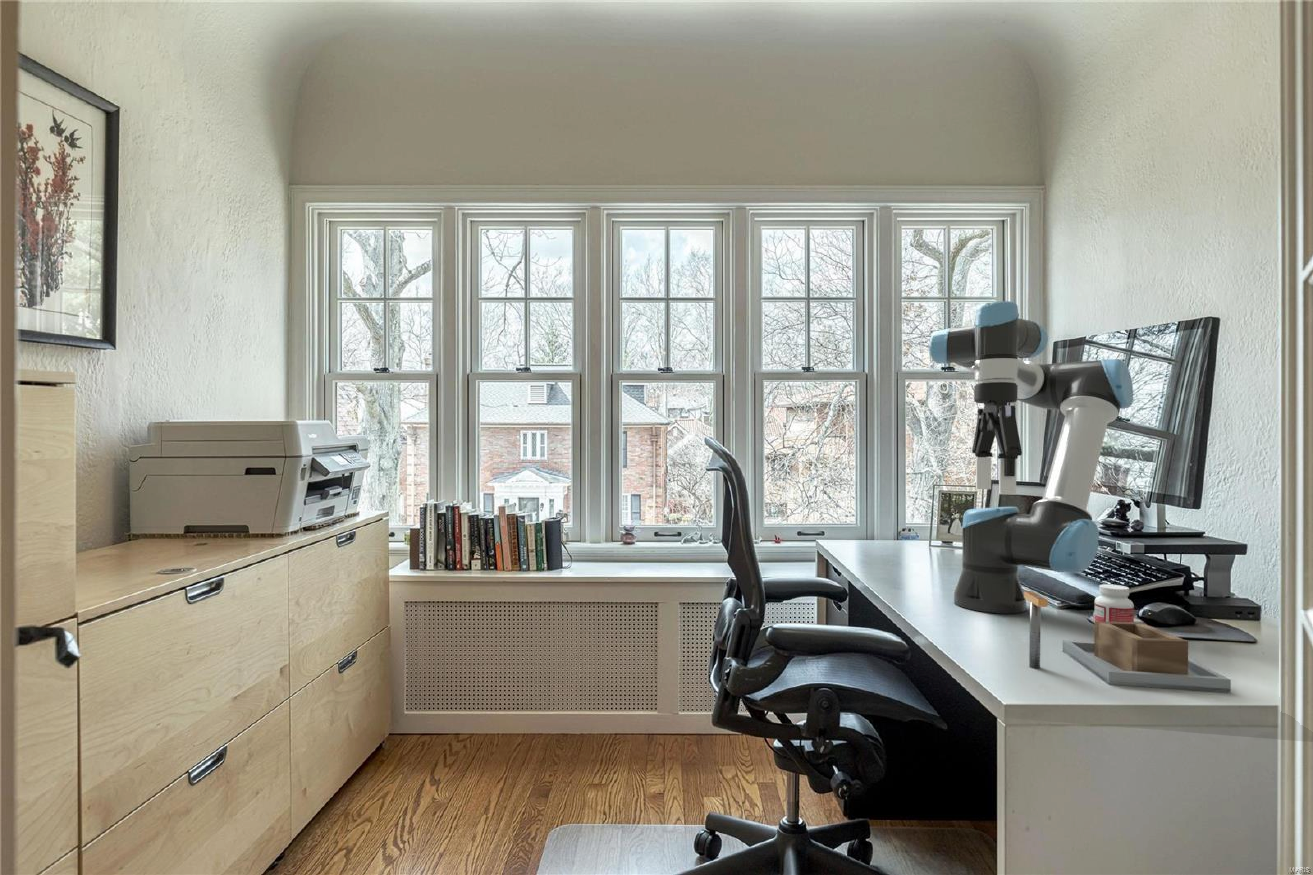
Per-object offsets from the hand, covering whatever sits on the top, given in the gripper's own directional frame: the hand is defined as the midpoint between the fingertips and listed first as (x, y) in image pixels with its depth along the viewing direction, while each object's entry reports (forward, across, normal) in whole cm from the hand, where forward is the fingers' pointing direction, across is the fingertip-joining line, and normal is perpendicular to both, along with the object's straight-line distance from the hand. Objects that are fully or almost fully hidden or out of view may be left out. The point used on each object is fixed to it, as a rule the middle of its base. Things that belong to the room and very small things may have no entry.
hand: (994, 491), depth 129 cm
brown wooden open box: (+28, +14, +18) cm, 36 cm away
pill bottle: (+29, -1, +22) cm, 36 cm away
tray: (+29, +14, +18) cm, 37 cm away
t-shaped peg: (+29, +16, +2) cm, 33 cm away
